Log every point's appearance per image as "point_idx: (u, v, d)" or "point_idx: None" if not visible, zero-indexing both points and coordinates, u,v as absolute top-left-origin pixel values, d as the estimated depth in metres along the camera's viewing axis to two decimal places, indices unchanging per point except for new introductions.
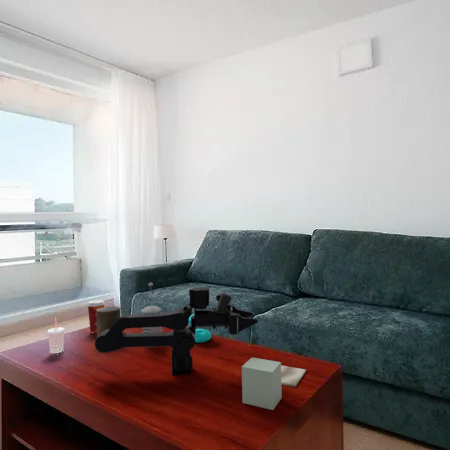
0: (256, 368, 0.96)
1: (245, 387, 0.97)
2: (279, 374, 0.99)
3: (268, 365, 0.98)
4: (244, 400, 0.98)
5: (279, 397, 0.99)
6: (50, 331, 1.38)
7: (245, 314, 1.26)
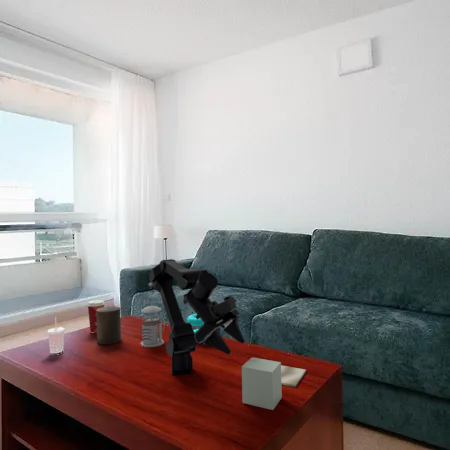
0: (256, 368, 0.96)
1: (245, 387, 0.97)
2: (279, 374, 0.99)
3: (268, 365, 0.98)
4: (244, 400, 0.98)
5: (279, 397, 0.99)
6: (50, 331, 1.38)
7: (237, 336, 1.07)
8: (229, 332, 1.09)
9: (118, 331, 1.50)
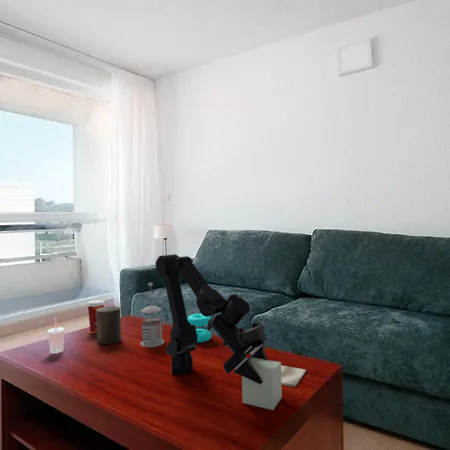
0: (256, 368, 0.96)
1: (245, 387, 0.97)
2: (279, 374, 0.99)
3: (268, 365, 0.98)
4: (244, 400, 0.98)
5: (279, 397, 0.99)
6: (50, 331, 1.38)
7: None
8: None
9: (118, 331, 1.50)
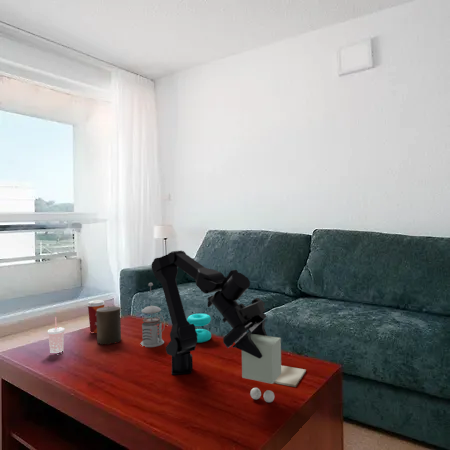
0: (256, 343, 0.97)
1: (245, 362, 0.98)
2: (279, 350, 0.99)
3: (267, 340, 0.98)
4: (244, 375, 0.98)
5: (279, 372, 0.99)
6: (50, 331, 1.38)
7: None
8: None
9: (118, 331, 1.50)
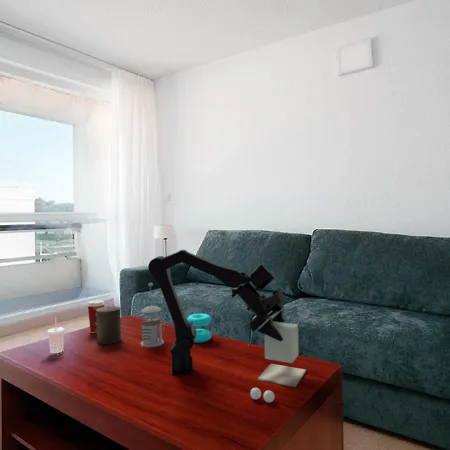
0: (277, 328, 1.11)
1: (267, 345, 1.13)
2: (296, 334, 1.14)
3: (287, 326, 1.13)
4: (266, 356, 1.13)
5: (296, 354, 1.14)
6: (50, 331, 1.38)
7: None
8: None
9: (118, 331, 1.50)
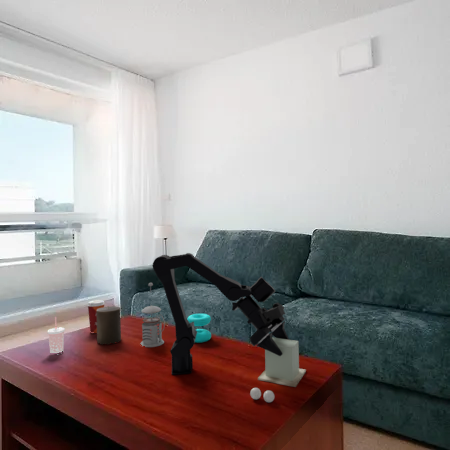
0: (277, 345, 1.12)
1: (268, 362, 1.13)
2: (297, 351, 1.14)
3: (287, 343, 1.13)
4: (267, 373, 1.13)
5: (297, 371, 1.14)
6: (50, 331, 1.38)
7: None
8: (276, 336, 1.20)
9: (118, 331, 1.50)
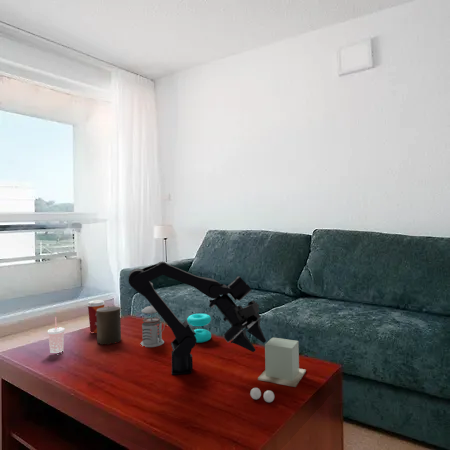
0: (277, 345, 1.12)
1: (268, 362, 1.13)
2: (297, 351, 1.14)
3: (287, 343, 1.13)
4: (267, 373, 1.13)
5: (297, 371, 1.14)
6: (50, 331, 1.38)
7: (260, 336, 1.22)
8: (252, 333, 1.24)
9: (118, 331, 1.50)
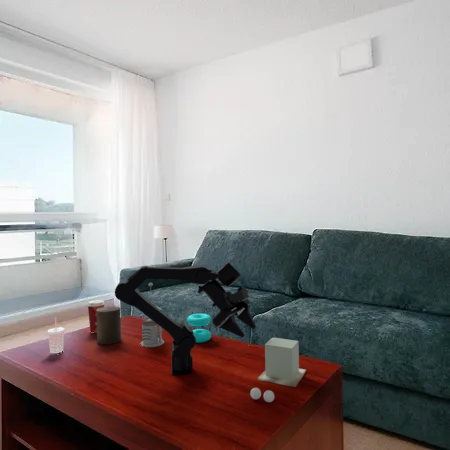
0: (277, 345, 1.12)
1: (268, 362, 1.13)
2: (297, 351, 1.14)
3: (287, 343, 1.13)
4: (267, 373, 1.13)
5: (297, 371, 1.14)
6: (50, 331, 1.38)
7: (249, 322, 1.21)
8: (242, 319, 1.22)
9: (118, 331, 1.50)
